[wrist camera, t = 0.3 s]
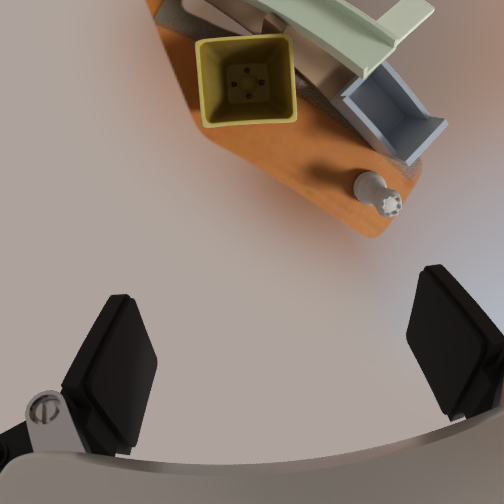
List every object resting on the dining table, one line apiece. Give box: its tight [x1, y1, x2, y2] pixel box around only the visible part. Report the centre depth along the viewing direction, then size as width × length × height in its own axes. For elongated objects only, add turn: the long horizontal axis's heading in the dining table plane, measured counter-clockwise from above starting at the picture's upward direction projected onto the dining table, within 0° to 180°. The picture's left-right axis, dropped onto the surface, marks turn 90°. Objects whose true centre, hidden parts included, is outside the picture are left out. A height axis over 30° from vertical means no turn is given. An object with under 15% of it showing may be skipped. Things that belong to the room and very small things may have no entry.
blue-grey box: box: [328, 60, 448, 166], centre depth 30 cm, size 7×9×9 cm
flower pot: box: [195, 34, 297, 128], centre depth 29 cm, size 9×9×9 cm
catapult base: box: [205, 0, 356, 100], centre depth 25 cm, size 7×20×10 cm, turn 48°
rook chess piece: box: [353, 171, 402, 217], centre depth 35 cm, size 4×4×8 cm
